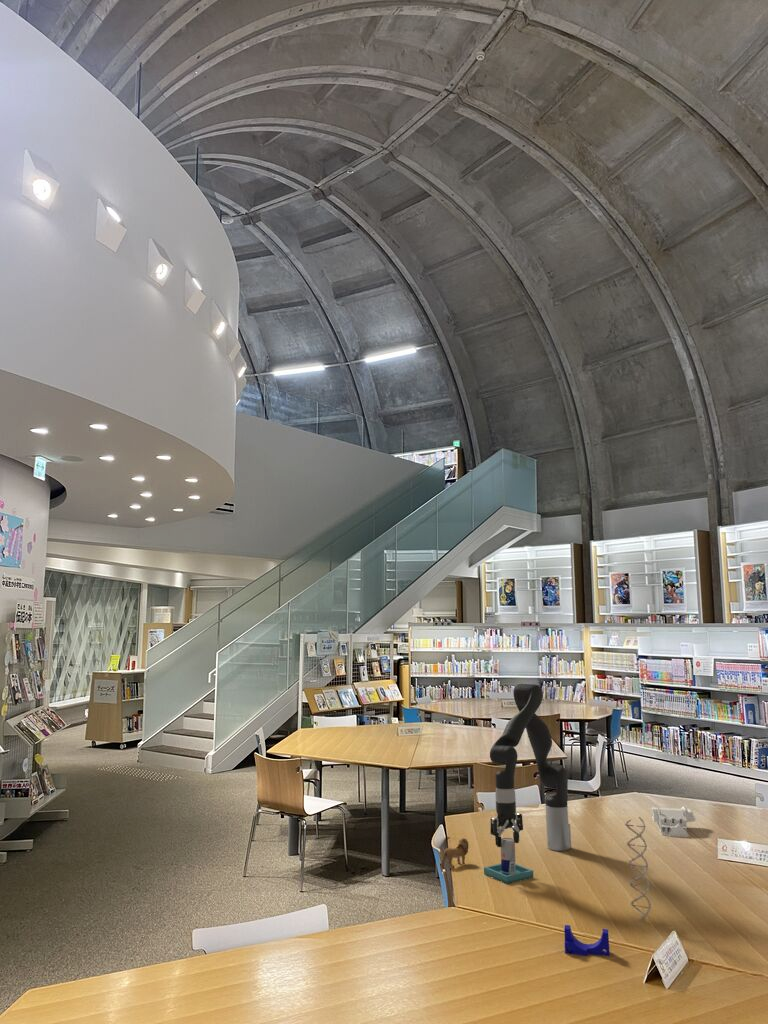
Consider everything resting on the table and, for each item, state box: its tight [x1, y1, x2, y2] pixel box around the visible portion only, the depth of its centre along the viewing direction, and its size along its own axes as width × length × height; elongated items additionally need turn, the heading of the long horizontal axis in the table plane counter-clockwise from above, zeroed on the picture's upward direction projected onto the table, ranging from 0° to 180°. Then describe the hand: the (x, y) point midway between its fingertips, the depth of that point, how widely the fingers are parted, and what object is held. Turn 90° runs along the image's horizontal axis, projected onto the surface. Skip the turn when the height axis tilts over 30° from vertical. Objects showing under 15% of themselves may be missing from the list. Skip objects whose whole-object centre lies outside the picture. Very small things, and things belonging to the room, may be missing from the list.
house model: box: [651, 805, 696, 838], centre depth 327 cm, size 19×20×10 cm
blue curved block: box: [563, 924, 610, 957], centre depth 200 cm, size 12×4×6 cm, turn 72°
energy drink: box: [500, 837, 517, 875], centre depth 267 cm, size 5×5×12 cm
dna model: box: [624, 816, 652, 921], centre depth 227 cm, size 7×6×30 cm
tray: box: [483, 863, 534, 885], centre depth 265 cm, size 13×13×2 cm
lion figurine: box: [440, 837, 470, 869], centre depth 280 cm, size 15×5×9 cm, turn 132°
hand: (507, 844), depth 267 cm, fingers open, 8 cm apart
